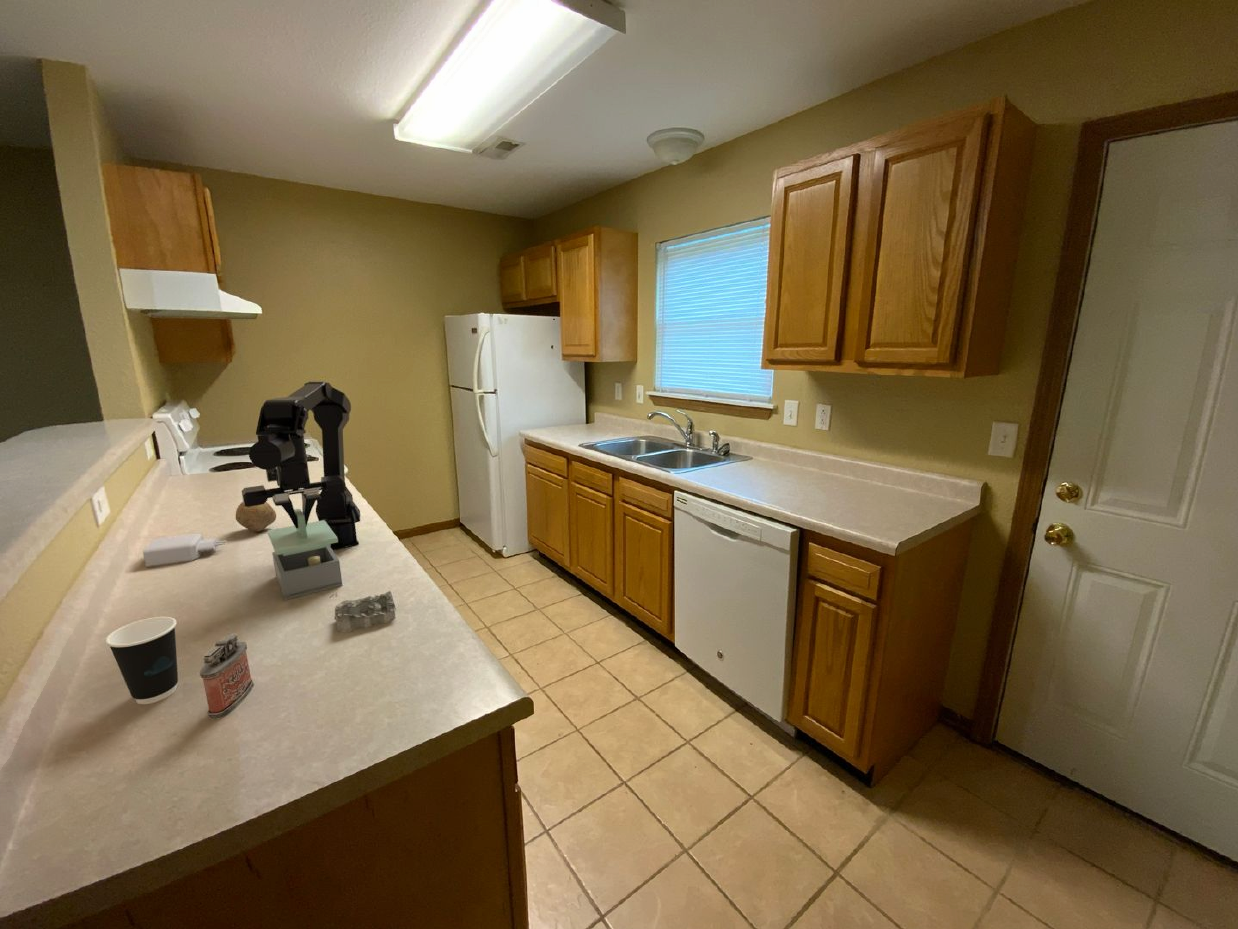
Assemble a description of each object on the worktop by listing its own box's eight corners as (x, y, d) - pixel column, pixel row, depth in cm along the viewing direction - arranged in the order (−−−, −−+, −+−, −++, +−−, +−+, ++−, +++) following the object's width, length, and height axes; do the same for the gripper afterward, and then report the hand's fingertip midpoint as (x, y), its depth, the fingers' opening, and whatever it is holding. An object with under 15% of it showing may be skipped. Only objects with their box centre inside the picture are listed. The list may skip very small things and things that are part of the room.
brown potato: (230, 534, 144) (224, 499, 142) (262, 523, 152) (256, 491, 150) (251, 538, 141) (246, 504, 139) (283, 528, 149) (278, 495, 147)
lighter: (237, 683, 82) (226, 627, 80) (259, 682, 83) (249, 626, 80) (202, 719, 75) (189, 658, 72) (226, 718, 75) (214, 657, 73)
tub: (329, 564, 126) (326, 541, 124) (342, 585, 115) (339, 560, 114) (275, 576, 119) (272, 552, 118) (284, 600, 109) (280, 574, 107)
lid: (325, 527, 124) (321, 500, 122) (338, 546, 113) (334, 516, 111) (268, 538, 117) (264, 509, 115) (277, 559, 106) (271, 527, 104)
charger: (223, 557, 129) (146, 569, 123) (231, 545, 137) (158, 554, 131) (220, 540, 128) (142, 550, 122) (228, 528, 136) (155, 537, 130)
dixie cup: (171, 707, 77) (156, 641, 74) (107, 715, 75) (90, 648, 73) (200, 674, 85) (187, 613, 82) (143, 681, 83) (128, 619, 80)
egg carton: (335, 636, 96) (332, 616, 95) (336, 617, 103) (333, 598, 102) (397, 623, 101) (395, 604, 100) (394, 605, 107) (392, 587, 106)
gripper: (331, 446, 122) (339, 509, 126) (234, 457, 111) (246, 526, 114) (342, 455, 114) (350, 522, 118) (238, 467, 102) (250, 541, 106)
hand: (300, 527), depth 114 cm, fingers closed on lid
